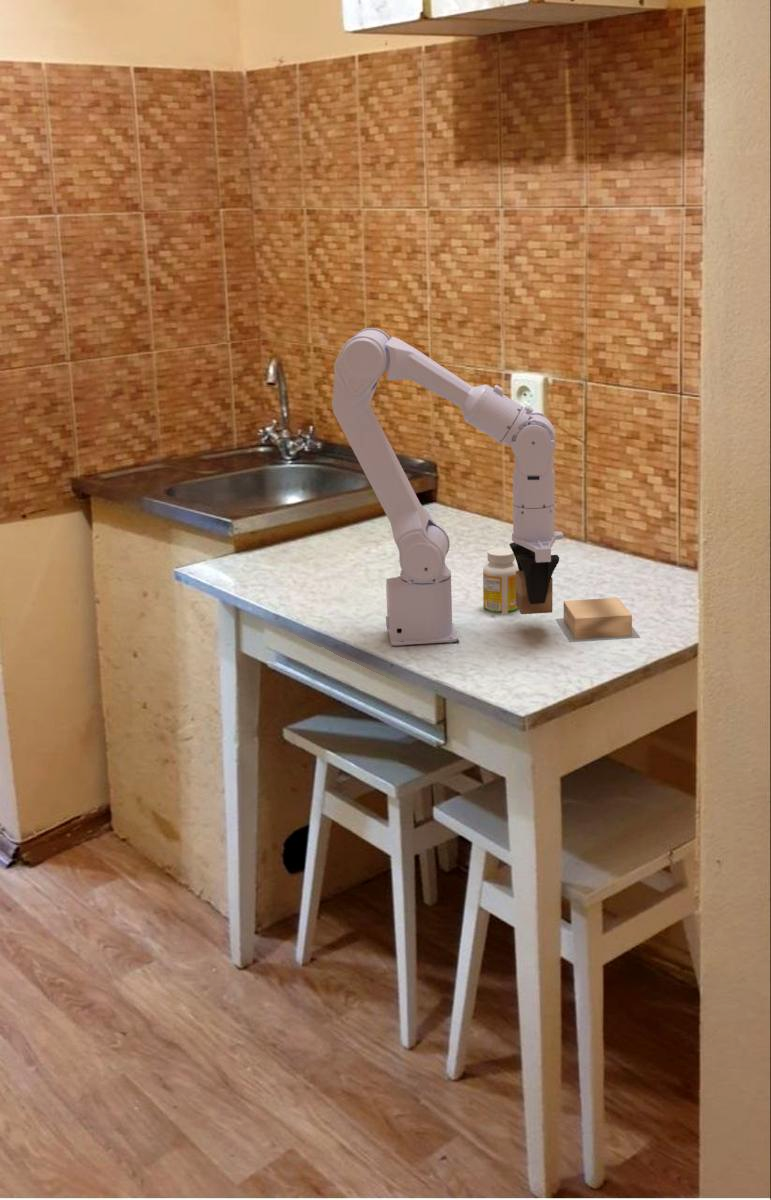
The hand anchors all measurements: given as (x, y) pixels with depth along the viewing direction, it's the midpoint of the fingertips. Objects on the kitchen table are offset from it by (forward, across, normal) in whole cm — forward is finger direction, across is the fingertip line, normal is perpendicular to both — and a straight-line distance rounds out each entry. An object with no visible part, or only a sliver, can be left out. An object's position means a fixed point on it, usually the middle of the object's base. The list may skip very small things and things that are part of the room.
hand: (533, 597), depth 183 cm
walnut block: (+2, 0, 0) cm, 2 cm away
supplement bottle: (+6, +11, +3) cm, 13 cm away
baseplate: (+6, 0, -9) cm, 11 cm away
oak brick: (+5, 0, -9) cm, 10 cm away
